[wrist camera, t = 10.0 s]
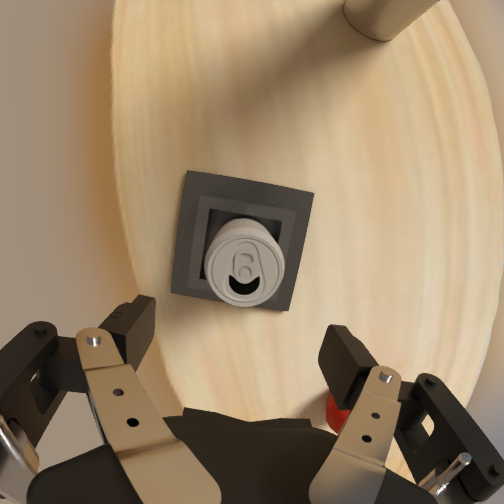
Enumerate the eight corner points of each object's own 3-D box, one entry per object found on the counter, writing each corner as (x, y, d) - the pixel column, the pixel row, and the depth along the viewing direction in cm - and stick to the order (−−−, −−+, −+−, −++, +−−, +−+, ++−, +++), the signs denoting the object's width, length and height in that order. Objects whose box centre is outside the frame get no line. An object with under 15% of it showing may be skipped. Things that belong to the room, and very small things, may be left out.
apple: (316, 411, 40) (331, 457, 30) (324, 376, 38) (345, 424, 28) (359, 405, 40) (380, 446, 30) (370, 371, 39) (398, 412, 28)
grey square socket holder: (188, 170, 31) (180, 167, 26) (312, 193, 32) (322, 193, 28) (172, 289, 34) (164, 303, 30) (287, 308, 35) (293, 323, 31)
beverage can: (214, 268, 32) (201, 309, 21) (216, 214, 31) (203, 227, 19) (267, 270, 33) (283, 313, 21) (272, 217, 32) (291, 232, 20)
